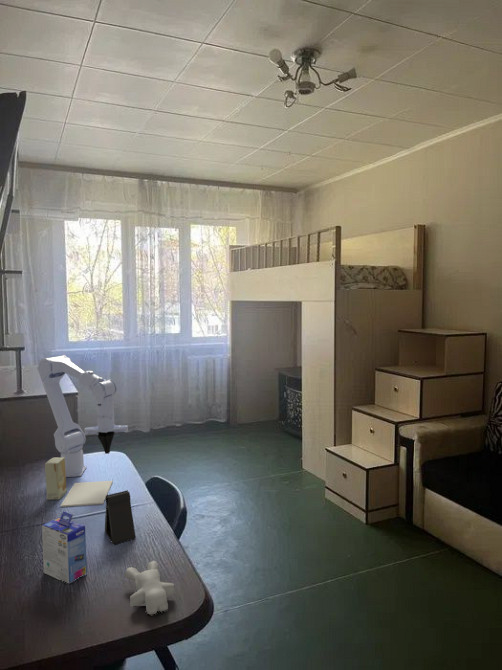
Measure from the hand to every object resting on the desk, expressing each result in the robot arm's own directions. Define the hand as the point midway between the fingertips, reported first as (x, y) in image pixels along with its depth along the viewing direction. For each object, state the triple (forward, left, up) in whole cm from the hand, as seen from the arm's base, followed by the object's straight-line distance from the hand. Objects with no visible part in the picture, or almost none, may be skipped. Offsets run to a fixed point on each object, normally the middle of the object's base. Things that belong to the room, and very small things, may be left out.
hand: (107, 452), depth 173 cm
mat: (+10, -5, -10) cm, 15 cm away
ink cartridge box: (+57, 0, -11) cm, 58 cm away
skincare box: (+10, -15, -11) cm, 21 cm away
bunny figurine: (+69, +21, -11) cm, 73 cm away
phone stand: (+40, +10, -11) cm, 43 cm away
